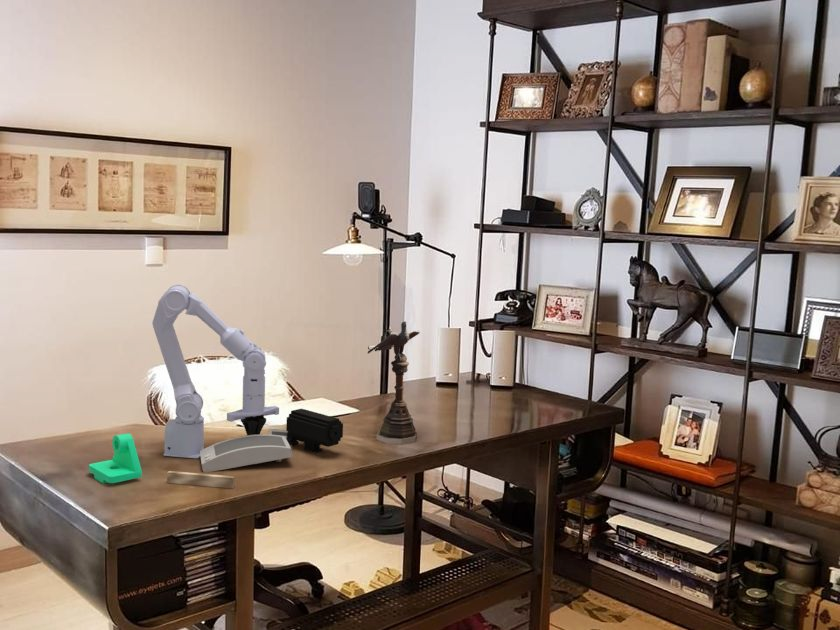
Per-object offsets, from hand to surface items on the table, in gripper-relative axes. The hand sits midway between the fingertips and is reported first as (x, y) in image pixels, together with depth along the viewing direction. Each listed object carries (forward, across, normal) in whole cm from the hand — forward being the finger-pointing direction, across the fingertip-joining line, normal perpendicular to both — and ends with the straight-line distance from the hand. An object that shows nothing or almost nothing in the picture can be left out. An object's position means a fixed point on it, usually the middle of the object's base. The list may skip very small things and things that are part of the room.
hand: (252, 444), depth 223 cm
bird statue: (+3, -40, +8) cm, 41 cm away
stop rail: (+2, +23, +15) cm, 27 cm away
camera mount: (+3, +37, 0) cm, 37 cm away
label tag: (+2, -12, -6) cm, 13 cm away
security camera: (+3, -14, +6) cm, 16 cm away
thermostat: (+3, +6, +6) cm, 9 cm away
